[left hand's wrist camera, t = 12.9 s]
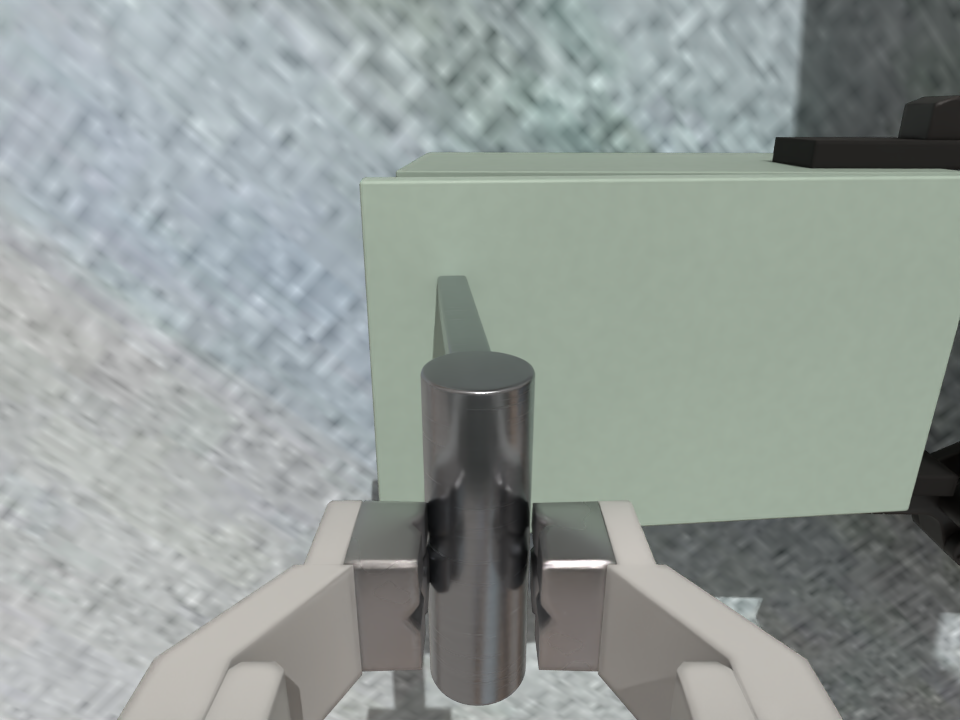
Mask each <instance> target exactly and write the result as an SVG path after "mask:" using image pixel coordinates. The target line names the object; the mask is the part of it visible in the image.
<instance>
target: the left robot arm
mask: <svg viewBox="0 0 960 720" xmlns="http://www.w3.org/2000/svg"><path fill="white" fill-rule="evenodd" d="M531 527H532V536H533V545H534V547H533V548H532V549H531V554H530V588H531V601H532V612H533V613H534V614H535V640H536V649H537V657H538V666H539V670H567V671H598V675H599V676H600V677H601V678H602V679H603V680H604V682H605V683H606V684H607V685H608V686H609V687H610V689H611V690H612V691H613V692H614V693H615V694H616V696H617V697H618V698H619V699H620V700H621V702H622V703H623V704H624V705H625V706H626V707H627V709H628V710H629V711H630V712H631V713H632V714H633V716H634V717H635V718H636V719H637V720H843V719H842V717H841V715H840V714H839V712H838V710H837V709H836V707H835V705H834V704H833V702H832V700H831V699H830V697H829V695H828V694H827V692H826V690H825V689H824V687H823V685H822V684H821V682H820V680H819V679H818V677H817V675H816V674H815V672H814V670H813V669H812V667H811V665H810V664H809V662H808V660H807V659H806V658H804V657H803V656H801V655H800V654H798V653H797V652H795V651H794V650H792V649H791V648H789V647H788V646H786V645H785V644H783V643H782V642H780V641H779V640H777V639H776V638H774V637H773V636H771V635H770V634H768V633H767V632H765V631H764V630H762V629H761V628H759V627H758V626H756V625H755V624H753V623H752V622H750V621H749V620H748V619H746V618H745V617H743V616H742V615H740V614H739V613H737V612H736V611H734V610H733V609H731V608H730V607H728V606H727V605H725V604H724V603H722V602H721V601H719V600H718V599H716V598H715V597H713V596H712V595H710V594H709V593H707V592H706V591H704V590H703V589H701V588H700V587H698V586H697V585H695V584H694V583H692V582H691V581H690V580H688V579H687V578H685V577H684V576H682V575H681V574H679V573H678V572H676V571H675V570H673V569H672V568H670V567H669V566H667V565H657V564H656V562H655V559H654V557H653V554H652V552H651V549H650V547H649V544H648V542H647V539H646V537H645V534H644V532H643V529H642V527H641V524H640V522H639V519H638V517H637V514H636V512H635V509H634V507H633V504H632V503H631V502H630V501H629V500H613V501H590V502H550V503H533V506H532V522H531ZM427 538H428V516H427V502H409V501H364V502H363V501H362V500H340V501H331V502H330V503H329V504H328V505H327V507H326V509H325V512H324V514H323V517H322V519H321V522H320V524H319V527H318V529H317V532H316V535H315V537H314V540H313V542H312V545H311V547H310V550H309V552H308V555H307V557H306V560H305V562H304V565H293V566H292V567H290V568H289V569H287V570H286V571H284V572H283V573H281V574H280V575H278V576H277V577H275V578H274V579H272V580H271V581H269V582H268V583H266V584H265V585H263V586H262V587H260V588H259V589H257V590H256V591H254V592H253V593H251V594H250V595H248V596H247V597H245V598H244V599H242V600H241V601H239V602H238V603H236V604H235V605H233V606H232V607H230V608H229V609H227V610H226V611H224V612H223V613H221V614H220V615H218V616H217V617H215V618H214V619H212V620H211V621H209V622H208V623H206V624H205V625H203V626H202V627H200V628H199V629H197V630H196V631H195V632H193V633H192V634H190V635H189V636H187V637H186V638H184V639H183V640H181V641H180V642H178V643H177V644H175V645H174V646H172V647H171V648H169V649H168V650H166V651H165V652H163V653H162V654H160V655H159V656H157V657H156V658H154V660H153V661H152V663H151V665H150V666H149V668H148V670H147V671H146V673H145V675H144V676H143V678H142V680H141V681H140V683H139V684H138V686H137V688H136V689H135V691H134V693H133V694H132V696H131V698H130V699H129V701H128V703H127V704H126V706H125V708H124V709H123V711H122V713H121V714H120V716H119V718H118V719H117V720H324V719H325V717H326V716H327V715H328V714H329V713H330V712H331V710H332V709H333V708H334V707H335V706H336V705H337V703H338V702H339V701H340V700H341V699H342V698H343V696H344V695H345V694H346V693H347V692H348V691H349V689H350V688H351V687H352V686H353V685H354V684H355V682H356V681H357V680H358V679H359V678H360V677H361V675H362V671H392V670H421V668H422V659H423V651H424V642H425V614H426V613H427V612H428V603H429V587H430V574H429V555H428V551H427Z"/></svg>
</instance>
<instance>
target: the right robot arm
mask: <svg viewBox="0 0 960 720" xmlns="http://www.w3.org/2000/svg"><path fill="white" fill-rule="evenodd" d="M772 162H776V163H782V164H788V165H794V166H799V167H805V168H811V169H948V170H960V96H932V97H922V98H920V99H917V100H915V101H912V102H909V103H907V104H905V108H904V113H903V118H902V122H901V127H900V131H899V136H898V138H869V137H776V139H775V146H774V152H773V159H772ZM883 513H885V514H912V519H913V521H914V522H915V523H916V524H917V525H918V526H919V527H920V528H921V529H922V530H923V531H924V532H925V533H926V534H927V535H928V536H929V537H930V538H931V539H932V540H933V541H934V542H935V543H936V544H937V545H938V546H939V547H940V548H941V549H942V550H943V551H944V552H945V553H946V554H947V555H949V556H950V557H951V558H952V559H953V560H954V561H955V562H956V563H957V564H958V565H960V442H957V443H955V444H953V445H950V446H948V447H945V448H943V449H941V450H938V451H936V452H933V453H931V454H929V453H928V452H927V451H926V450H924V453H923V456H922V460H921V464H920V467H919V471H918V475H917V478H916V482H915V486H914V489H913V493H912V497H911V501H910V504H909V508H908V510H907V511H895V512H878V513H873V514H883ZM861 514H871V513H861Z"/></svg>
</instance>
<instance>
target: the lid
mask: <svg viewBox="0 0 960 720" xmlns="http://www.w3.org/2000/svg"><path fill="white" fill-rule="evenodd" d="M360 201H361V217H362V233H363V249H364V265H365V281H366V297H367V313H368V329H369V346H370V362H371V378H372V394H373V410H374V426H375V442H376V458H377V475H378V491H379V501H409V502H427V516H428V538H427V551H428V555H429V574H430V587H429V603H428V615H429V645H430V670H431V675H432V678H433V680H434V682H435V684H436V685H437V687H438V688H439V689H440V691H441V692H442V693H444V694H445V695H446V696H447V697H449V698H451V699H452V700H454V701H457V702H459V703H462V704H467V705H475V706H481V705H489V704H493V703H497V702H499V701H502V700H503V699H505V698H507V697H508V696H510V695H511V694H512V693H513V692H514V691H516V689H517V688H518V687H519V685H520V684H521V682H522V680H523V678H524V675H525V669H526V640H527V610H528V580H529V550H530V533H532V527H531V522H532V506H533V503H550V502H590V501H613V500H629V501H630V502H631V503H632V504H633V507H634V509H635V512H636V514H637V517H638V519H639V522H640V524H641V526H656V525H673V524H690V523H707V522H724V521H741V520H758V519H775V518H792V517H809V516H827V515H844V514H861V513H878V512H895V511H907V510H908V508H909V504H910V501H911V497H912V493H913V489H914V486H915V482H916V478H917V475H918V471H919V467H920V464H921V460H922V456H923V453H924V449H925V445H926V441H927V438H928V434H929V430H930V427H931V423H932V419H933V416H934V412H935V408H936V405H937V401H938V397H939V394H940V390H941V386H942V382H943V379H944V375H945V371H946V368H947V364H948V360H949V357H950V353H951V349H952V346H953V342H954V338H955V334H956V331H957V327H958V323H959V320H960V173H872V174H744V175H616V176H488V177H365V178H363V179H362V180H361V182H360Z"/></svg>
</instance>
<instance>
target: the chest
mask: <svg viewBox="0 0 960 720" xmlns="http://www.w3.org/2000/svg"><path fill="white" fill-rule="evenodd" d="M772 159H773V153H461V152H430V153H427V154H425V155H423V156H422V157H420V158H418V159H416V160H415V161H413V162H411V163H410V164H408V165H406V166H404V167H403V168H401V169H399V170H398V171H396V177H488V176H616V175H744V174H872V173H960V171H956V170H948V169H811V168H805V167H799V166H794V165H788V164H782V163H776V162H772Z"/></svg>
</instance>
